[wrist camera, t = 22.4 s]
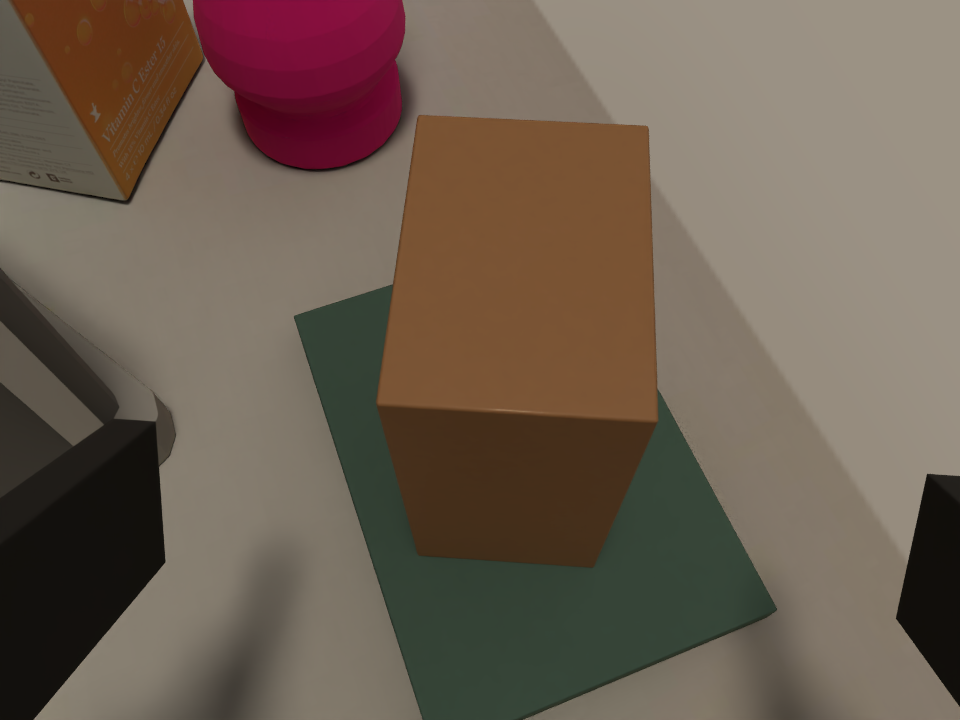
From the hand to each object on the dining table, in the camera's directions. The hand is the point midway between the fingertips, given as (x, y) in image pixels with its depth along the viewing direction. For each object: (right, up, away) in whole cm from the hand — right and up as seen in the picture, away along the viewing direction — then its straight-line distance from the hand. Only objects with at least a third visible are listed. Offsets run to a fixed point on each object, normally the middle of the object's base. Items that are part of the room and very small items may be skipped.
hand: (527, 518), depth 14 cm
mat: (0, 0, +12) cm, 12 cm away
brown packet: (0, 0, +11) cm, 11 cm away
